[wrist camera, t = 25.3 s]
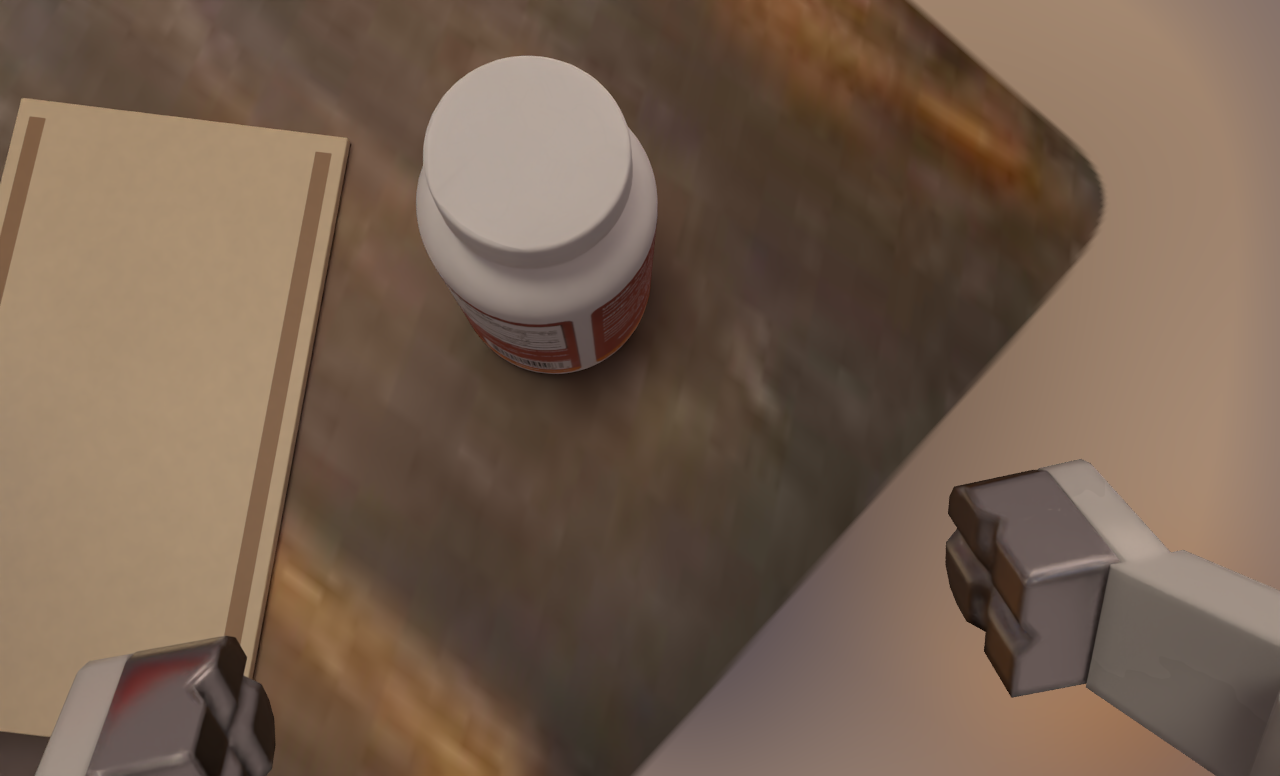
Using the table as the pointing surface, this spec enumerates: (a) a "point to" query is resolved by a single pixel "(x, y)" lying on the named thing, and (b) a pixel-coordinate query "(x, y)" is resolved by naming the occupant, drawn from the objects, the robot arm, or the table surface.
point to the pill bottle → (539, 212)
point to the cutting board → (148, 381)
